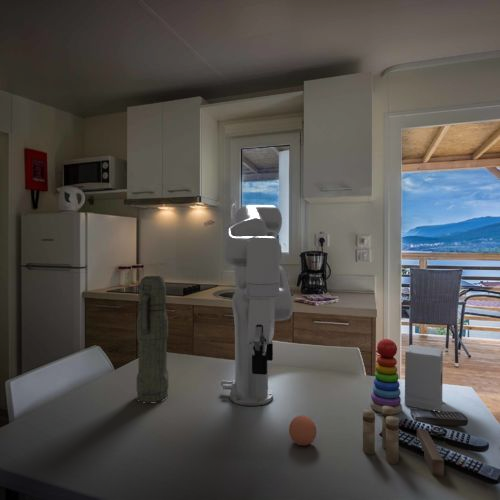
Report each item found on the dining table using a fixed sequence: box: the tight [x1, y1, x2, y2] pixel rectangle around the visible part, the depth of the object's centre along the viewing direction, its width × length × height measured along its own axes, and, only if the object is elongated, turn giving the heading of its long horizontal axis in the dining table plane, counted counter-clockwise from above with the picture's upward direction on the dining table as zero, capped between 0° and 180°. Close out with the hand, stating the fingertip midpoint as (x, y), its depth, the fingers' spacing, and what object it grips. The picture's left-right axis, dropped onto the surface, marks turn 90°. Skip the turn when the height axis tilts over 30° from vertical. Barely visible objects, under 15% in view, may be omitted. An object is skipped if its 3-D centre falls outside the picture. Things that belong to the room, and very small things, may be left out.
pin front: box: [362, 408, 376, 455], centre depth 77 cm, size 2×2×8 cm
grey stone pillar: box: [136, 275, 169, 403], centre depth 105 cm, size 9×12×35 cm
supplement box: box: [404, 344, 444, 412], centre depth 101 cm, size 9×9×15 cm
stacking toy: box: [369, 338, 403, 415], centre depth 97 cm, size 8×8×19 cm
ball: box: [288, 414, 317, 447], centre depth 80 cm, size 6×6×6 cm
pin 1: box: [381, 406, 395, 450], centre depth 79 cm, size 2×2×8 cm
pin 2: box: [385, 416, 400, 465], centre depth 74 cm, size 2×2×8 cm
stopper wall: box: [416, 428, 445, 477], centre depth 75 cm, size 2×12×3 cm, turn 168°
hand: (262, 366), depth 82 cm, fingers open, 9 cm apart
